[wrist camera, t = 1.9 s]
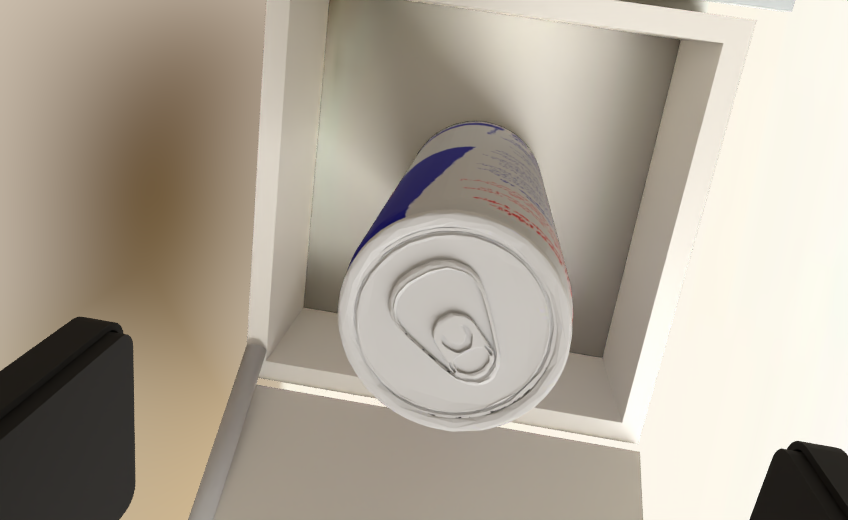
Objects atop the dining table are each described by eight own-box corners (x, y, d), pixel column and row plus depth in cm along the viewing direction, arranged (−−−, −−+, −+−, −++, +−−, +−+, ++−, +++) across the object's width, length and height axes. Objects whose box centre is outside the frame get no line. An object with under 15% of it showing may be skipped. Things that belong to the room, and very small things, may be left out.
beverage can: (441, 97, 29) (383, 167, 15) (564, 152, 29) (624, 274, 15) (391, 216, 31) (297, 380, 17) (506, 267, 31) (512, 472, 17)
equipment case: (579, 519, 35) (654, 994, 18) (274, 464, 36) (67, 866, 19) (707, 21, 27) (1064, 13, 10) (312, -35, 28) (13, -130, 11)
